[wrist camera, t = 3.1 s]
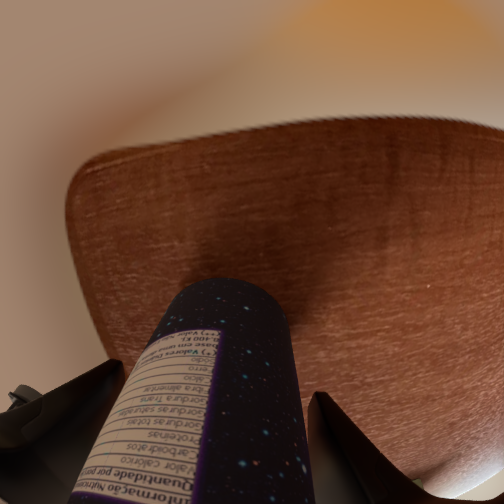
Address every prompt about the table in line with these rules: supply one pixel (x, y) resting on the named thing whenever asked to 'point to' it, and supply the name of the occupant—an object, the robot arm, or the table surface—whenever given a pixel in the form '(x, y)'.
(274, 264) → the table surface
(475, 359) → the table surface
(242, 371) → the beverage can
